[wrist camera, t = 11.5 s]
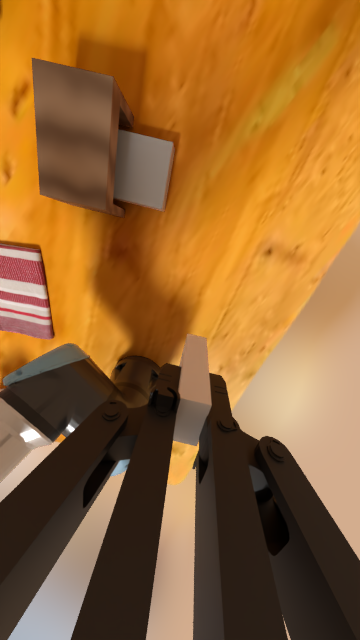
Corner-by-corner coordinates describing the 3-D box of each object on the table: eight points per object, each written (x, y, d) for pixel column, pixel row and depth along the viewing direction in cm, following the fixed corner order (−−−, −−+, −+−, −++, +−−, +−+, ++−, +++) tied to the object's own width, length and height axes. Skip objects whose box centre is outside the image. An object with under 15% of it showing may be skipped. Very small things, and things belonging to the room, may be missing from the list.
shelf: (124, 217, 38) (105, 210, 30) (71, 204, 38) (39, 194, 31) (133, 116, 32) (113, 76, 24) (71, 101, 32) (31, 57, 25)
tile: (164, 212, 37) (162, 209, 34) (80, 191, 37) (70, 186, 35) (175, 151, 33) (172, 142, 31) (81, 128, 34) (70, 117, 31)
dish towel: (1, 327, 53) (-9, 331, 50) (-22, 239, 44) (-36, 239, 41) (56, 337, 52) (49, 341, 49) (44, 249, 43) (34, 249, 40)
